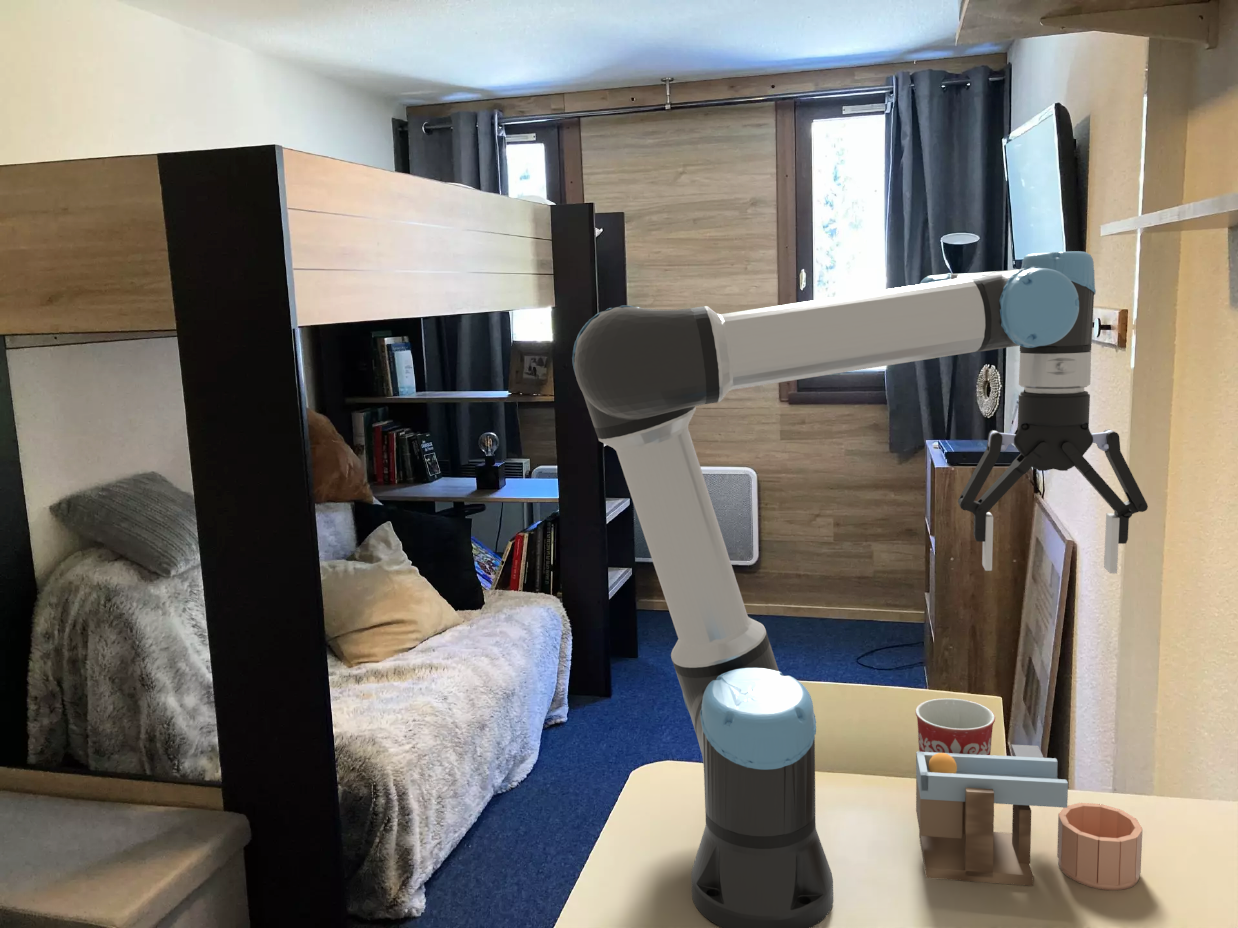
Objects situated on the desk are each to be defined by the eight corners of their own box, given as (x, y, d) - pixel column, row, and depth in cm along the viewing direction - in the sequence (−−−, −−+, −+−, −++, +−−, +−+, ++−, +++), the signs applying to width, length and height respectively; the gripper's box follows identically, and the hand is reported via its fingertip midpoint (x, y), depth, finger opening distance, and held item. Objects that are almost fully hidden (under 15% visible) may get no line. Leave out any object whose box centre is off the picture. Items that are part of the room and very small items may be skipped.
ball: (929, 784, 109) (930, 759, 109) (927, 772, 112) (927, 747, 112) (958, 786, 109) (958, 760, 108) (955, 773, 112) (955, 748, 111)
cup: (1067, 886, 106) (1068, 838, 105) (1051, 846, 113) (1052, 800, 112) (1149, 892, 104) (1151, 843, 103) (1127, 851, 112) (1128, 805, 111)
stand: (926, 877, 108) (926, 789, 107) (919, 836, 117) (919, 753, 115) (1034, 885, 106) (1036, 795, 104) (1019, 842, 114) (1021, 758, 113)
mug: (998, 839, 115) (1000, 730, 113) (917, 833, 117) (917, 726, 115) (984, 787, 127) (986, 688, 125) (911, 782, 130) (911, 684, 127)
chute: (920, 836, 109) (920, 775, 108) (911, 780, 122) (911, 725, 120) (1066, 846, 106) (1068, 783, 105) (1041, 788, 118) (1043, 731, 117)
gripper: (943, 394, 112) (940, 575, 116) (1184, 390, 107) (1174, 580, 110) (937, 388, 120) (934, 558, 123) (1162, 384, 114) (1153, 562, 118)
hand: (1047, 569), depth 117 cm, fingers open, 13 cm apart
